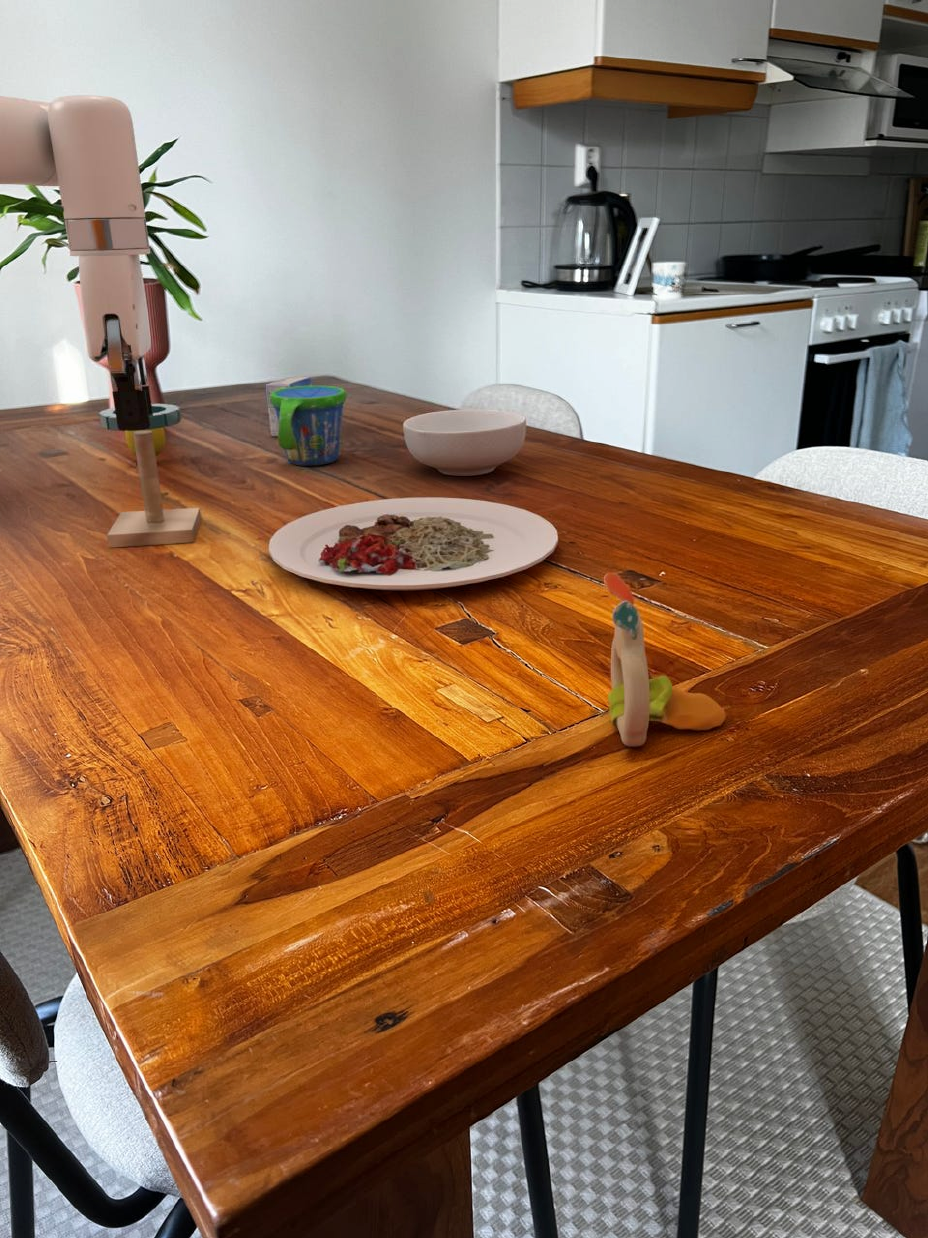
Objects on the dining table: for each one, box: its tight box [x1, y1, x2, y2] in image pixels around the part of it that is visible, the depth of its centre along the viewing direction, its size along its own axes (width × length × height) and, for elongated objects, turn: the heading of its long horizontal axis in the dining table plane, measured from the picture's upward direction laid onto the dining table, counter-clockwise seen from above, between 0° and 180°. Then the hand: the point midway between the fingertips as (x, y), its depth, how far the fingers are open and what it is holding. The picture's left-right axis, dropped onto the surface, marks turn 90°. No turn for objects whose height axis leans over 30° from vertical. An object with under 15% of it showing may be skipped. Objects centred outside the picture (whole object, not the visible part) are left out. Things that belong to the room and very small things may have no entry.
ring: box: [98, 403, 182, 432], centre depth 104 cm, size 8×8×1 cm
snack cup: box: [270, 385, 348, 467], centre depth 139 cm, size 16×10×10 cm
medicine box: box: [265, 376, 313, 438], centre depth 159 cm, size 8×4×9 cm, turn 162°
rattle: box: [603, 572, 727, 748], centre depth 63 cm, size 8×8×12 cm
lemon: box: [124, 427, 166, 457], centre depth 141 cm, size 6×6×8 cm
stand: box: [106, 431, 202, 549], centre depth 107 cm, size 9×9×12 cm
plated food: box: [268, 496, 559, 591], centre depth 101 cm, size 30×30×3 cm
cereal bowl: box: [402, 408, 527, 477], centre depth 134 cm, size 17×17×7 cm
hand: (136, 425), depth 101 cm, fingers closed on ring, 1 cm apart
